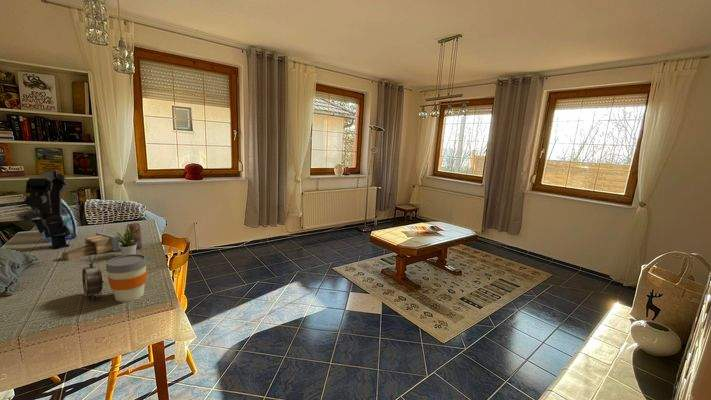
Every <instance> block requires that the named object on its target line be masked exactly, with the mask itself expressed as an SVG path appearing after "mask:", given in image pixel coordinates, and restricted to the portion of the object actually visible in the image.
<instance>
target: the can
mask: <svg viewBox="0 0 711 400" xmlns="http://www.w3.org/2000/svg"><path fill="white" fill-rule="evenodd" d="M126 227H127V229H128V227H129V229H130V233H131V231H132V232H133V231H134V229H135V228H137V227H138V228H137V230H138V229H139V230H138V231H137V230H136V231H137V232H138V233H137V232H136V231H135V232H136V233H137V234H136V233H135V234H136V235H134V236H135V237H137V238H138V239H137V238H135V237H134V238H135V239H134V238H133V239H134V241H135V240H136V239H137V240H136V241H135V242H134V241H132V243H133V242H134V243H137V246H136V251H137V250H140V249H141V248H142V246H143V244H142V238H141V237H142V233H141V232H140V231H141V229H140V228H141V225H140V223H134V222H133V223H129V224H126ZM126 227H125V228H126ZM140 236H141V237H140Z"/></svg>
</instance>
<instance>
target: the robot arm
mask: <svg viewBox="0 0 711 400" xmlns="http://www.w3.org/2000/svg"><path fill="white" fill-rule="evenodd" d="M67 184H68V181H67V179H66V177H65V175H64V174H60V173H59V172H58V171H57V170H43V171H42V173H41V174H39V176H34V177H30V178H28V180H26V186H25V194H29V195H28V196H26V198H25V199H24V203H25V205H26V206H28V207H30V209H28V210H26V211H25V210H24V211H22V212H20V213H17V214H16V216H17V218H18V219H19V220H20V222H25V223H26V222H31V223H33V224H34V226H35V227H36V229H37V231H38V233H39V234H42V233H43V231H44V233H45V236H46V238H49V237H51V245H49V246H48V248H50V249H54V250H56V249H62V248H66V247H67V248H68V247H70V246H71V245H70V244H68V243H67V238H66V236H68V235H70V231H69V228H68V227H67V225H66V223H65V222H64V221H63V218H62V200H61V198H62V194H63V192H64V191H65V190H66V186H67ZM49 193H50V195H49Z"/></svg>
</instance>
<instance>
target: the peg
mask: <svg viewBox="0 0 711 400" xmlns="http://www.w3.org/2000/svg"><path fill="white" fill-rule="evenodd" d="M93 253H96V246H95V243H93V244H90V245H86V246H85V245H83V246H80V247H76V248H72V249H69V250H65V251H62V252H61V256H62V260H64V261H72V260H74V259H78V258H81V257H85V256H88V255H90V254H91V255H92V254H93Z"/></svg>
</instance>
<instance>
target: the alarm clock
mask: <svg viewBox="0 0 711 400" xmlns="http://www.w3.org/2000/svg"><path fill="white" fill-rule="evenodd" d="M88 260H89V263H88V264H89V266H87V267H83V268H82V271H81V274H82V275H81V280H82V289H83V293H84V296H85V297H86V298H87V297H91V302H94V301H95V295H100V294H101V295H102V294H103V293H102V291H103V284H104V280H103V276H102V275H103V274H102V270H101V267H99V266H98V265H93V259H92V256H89V257H88Z"/></svg>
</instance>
